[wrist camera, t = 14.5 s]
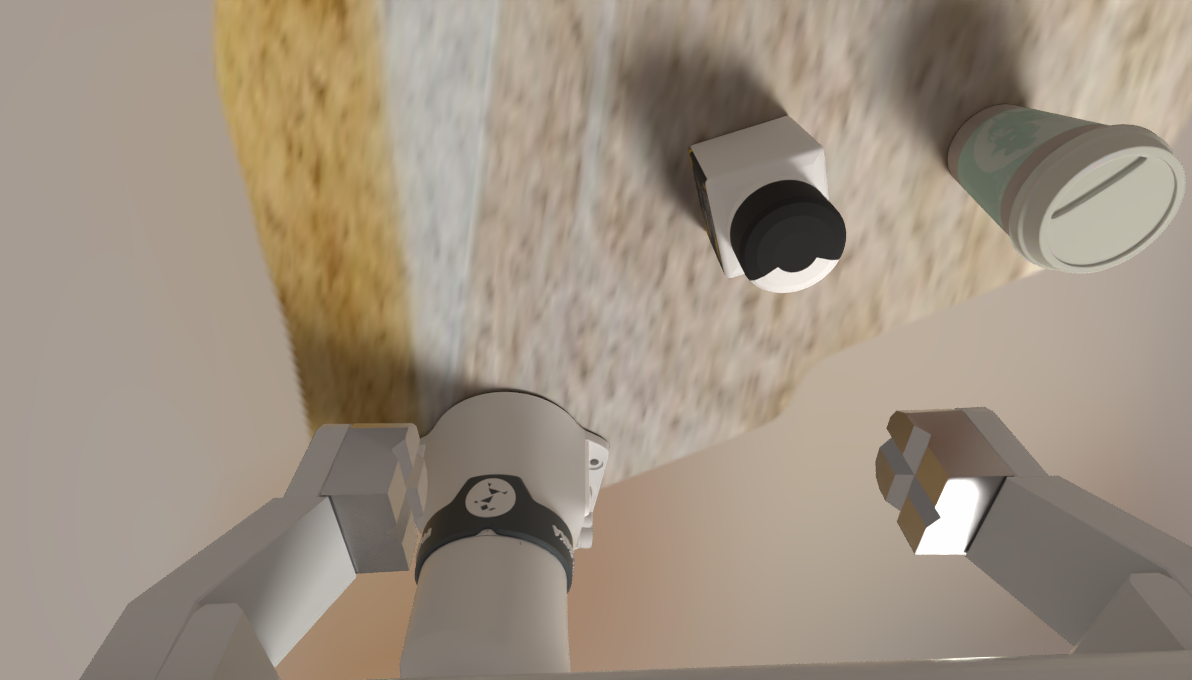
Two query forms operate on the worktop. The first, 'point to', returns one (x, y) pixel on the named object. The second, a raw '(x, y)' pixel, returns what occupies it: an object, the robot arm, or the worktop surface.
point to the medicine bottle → (769, 205)
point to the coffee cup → (1068, 185)
